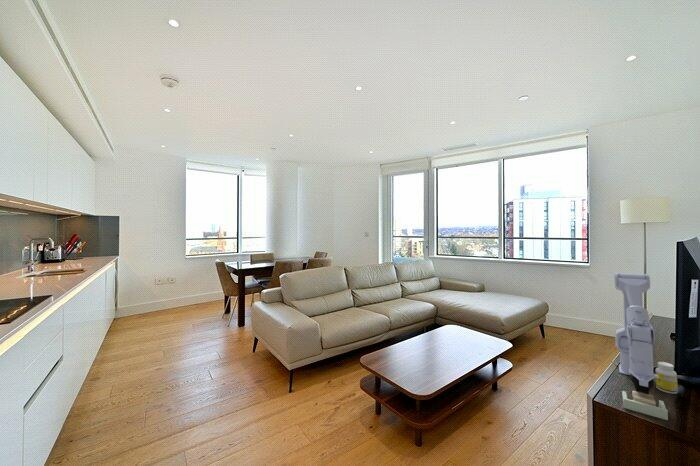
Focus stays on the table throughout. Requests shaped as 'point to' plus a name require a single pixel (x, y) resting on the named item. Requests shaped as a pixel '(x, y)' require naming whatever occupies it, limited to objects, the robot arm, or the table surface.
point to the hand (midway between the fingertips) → (642, 398)
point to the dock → (645, 407)
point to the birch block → (643, 398)
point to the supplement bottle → (666, 378)
